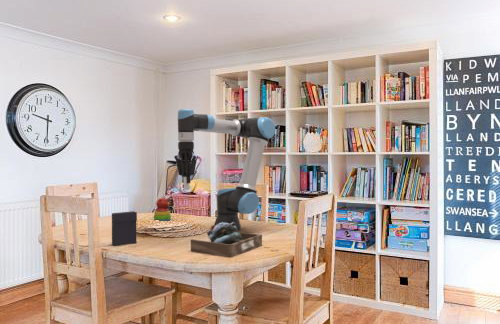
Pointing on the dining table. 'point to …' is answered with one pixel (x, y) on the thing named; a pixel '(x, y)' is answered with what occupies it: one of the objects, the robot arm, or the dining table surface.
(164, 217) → the stacking bear
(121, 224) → the upright charcoal panel
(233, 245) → the labelled bay
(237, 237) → the dark grey rounded lump
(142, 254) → the dining table surface
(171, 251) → the dining table surface
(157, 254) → the dining table surface
